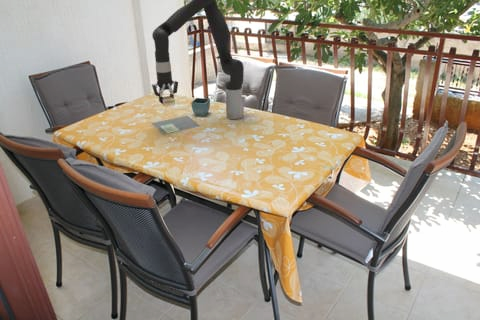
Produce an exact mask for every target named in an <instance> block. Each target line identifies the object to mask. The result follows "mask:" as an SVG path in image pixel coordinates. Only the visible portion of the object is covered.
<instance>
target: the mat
mask: <svg viewBox="0 0 480 320" xmlns="http://www.w3.org/2000/svg"><path fill="white" fill-rule="evenodd" d="M150 124H151V125H152V126H153V127H154V128H156V129H157V131H159V132H160V133H161V134H162V135H167V134H171V133H176V132H180V131H184V130H185V131H186V130H188V129H194V128H198V127H201V124H199V123H198V122H196V120H194V119H193V118H191V117H190V116H189V115H184V116H178V117H173V118H169V119H164V120H159V121H154V122H151V123H150Z"/></svg>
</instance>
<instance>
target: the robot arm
mask: <svg viewBox="0 0 480 320" xmlns="http://www.w3.org/2000/svg"><path fill="white" fill-rule="evenodd" d="M202 10H203V11H204V14H205V17H206V20H207V24H208V27H209V30H210V33H211V34H210V35H212V40H213V42H214V45H215V48H216V51H217V54H218V57H219V63H220V67H221V70H222V71H223V73H224V74H225V75H227V76H229V81H227V82H225V108H226V109H225V110H226V113H225V114H226V118H227V119H229V120H239V119H242V118H243V117H245V115H244V114H245V107H244V106H245V105H244V103H245V102H244V100H243V84H244V73H245V72H244V69H245V68H244V64H243V62H242V61H241V60H239V59H235V58H233V56H232V54H231V50H230V43H231V33H230V29H229V25H228V23H227V21H226V19H225V17H224V15H223V13H222V12H221V10H220V8H219V6H218V3H217V0H191V1H190V2H188V3H187V4H185V5H183V6H181V7H180V8H179V9H177V10H176V11H175V12H174V13H172V14H171V15H170V16H169V17H168V18H167V19H166V20H165V21H164V22H163V23H161V24H160V25H158V26H157V27H156V28H155V29H154V30H153V31H152V36H151V38H152V39H153V41H154V48H155V51H154V57H155V58H154V59H155V72H156V83H154V84H151V88H152V90H153V93H154V95H155V96H156V97H158V102H160V104H162V103H163V97H162V95H164V91H166V90H167V91H169V93H170V94H169V96H170V97H172V98H173V99H174V100H175V96H174V95H175V94H177V93H178V87H179V81H177V80H173V76H172V75H173V74H172V66H171V65H172V64H171V58H170V57H171V56H170V49H169V47H170V40H169V37H170V36H171V35H173V33H176V32H178V31H179V30H180V29H181V28H183V26H184V25H185V24H186V23H188V21H190V20H191V19H192V18H193V17H194V16H196V15H197V14H198V13H199V12H201V11H202ZM172 86H173V88H172ZM157 88H159V89H157Z"/></svg>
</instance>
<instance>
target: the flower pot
mask: <svg viewBox="0 0 480 320" xmlns="http://www.w3.org/2000/svg"><path fill="white" fill-rule="evenodd" d="M190 104H191V109H192V112H193V114H194V115H195V116H200V117H205V116H206V115H207V114H208V112H209V110H210V108H211V99H210V98H206V97H205V98H204V97H203V98H202V97H201V98H200V97H196V98H194V100H192V101H191V102H190Z"/></svg>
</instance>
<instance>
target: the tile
mask: <svg viewBox="0 0 480 320" xmlns="http://www.w3.org/2000/svg"><path fill="white" fill-rule="evenodd" d="M162 97H163V103H161V105H163V106H165V108H166V107H172V106H175V105H176V103H175V98H174V99H173V98H172V97H170V94H162Z"/></svg>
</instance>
